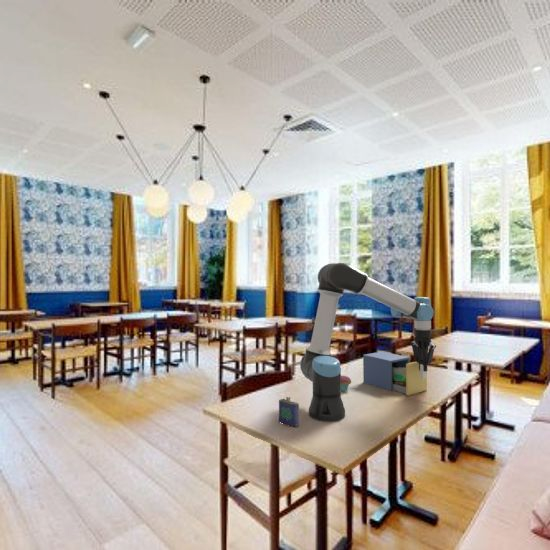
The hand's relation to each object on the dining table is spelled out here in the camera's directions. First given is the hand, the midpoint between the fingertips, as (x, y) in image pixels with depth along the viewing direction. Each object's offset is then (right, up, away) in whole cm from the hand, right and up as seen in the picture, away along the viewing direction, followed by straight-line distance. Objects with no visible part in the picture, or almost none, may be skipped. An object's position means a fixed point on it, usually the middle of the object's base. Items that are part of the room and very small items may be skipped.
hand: (423, 377), depth 183 cm
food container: (-8, -8, +9) cm, 14 cm away
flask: (-67, -9, -35) cm, 76 cm away
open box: (-12, -9, +19) cm, 24 cm away
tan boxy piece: (-6, -8, +10) cm, 14 cm away
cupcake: (-37, -9, +10) cm, 40 cm away
